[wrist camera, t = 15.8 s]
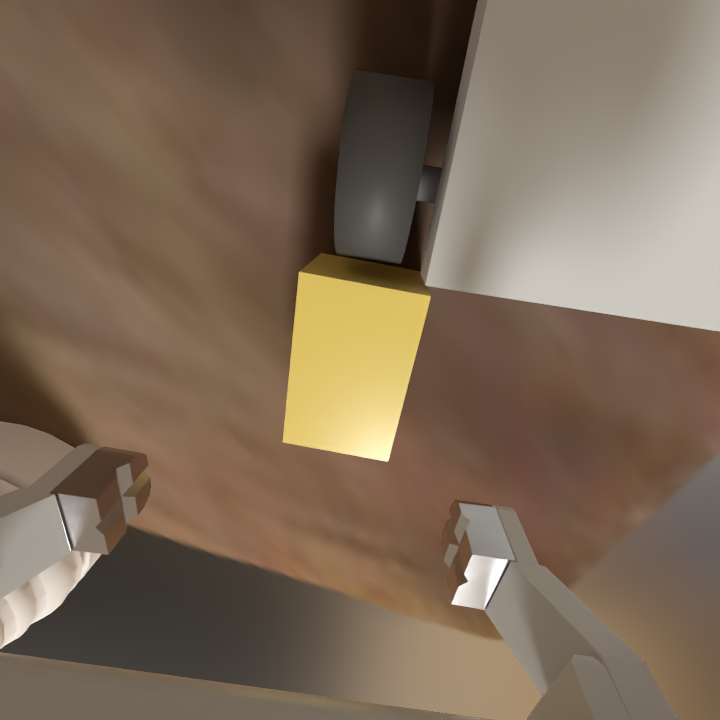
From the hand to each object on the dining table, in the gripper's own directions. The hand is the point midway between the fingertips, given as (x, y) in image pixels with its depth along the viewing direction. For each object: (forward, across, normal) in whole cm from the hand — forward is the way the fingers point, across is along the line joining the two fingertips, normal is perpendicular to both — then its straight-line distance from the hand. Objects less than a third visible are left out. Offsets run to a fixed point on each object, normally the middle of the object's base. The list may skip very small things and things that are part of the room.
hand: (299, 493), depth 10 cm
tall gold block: (+11, +1, 0) cm, 11 cm away
